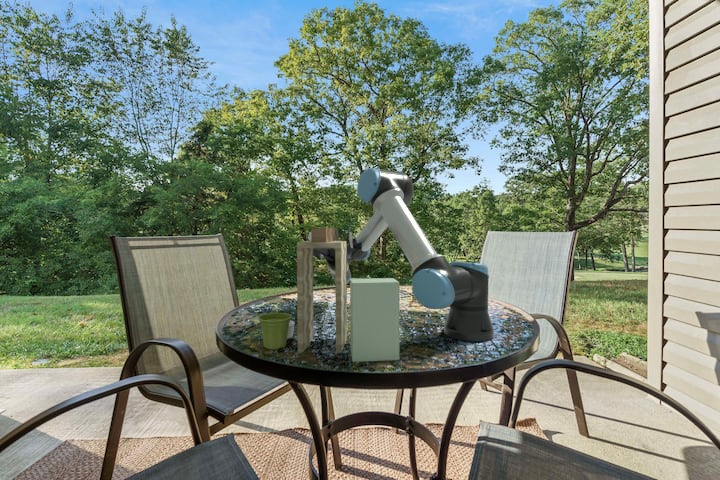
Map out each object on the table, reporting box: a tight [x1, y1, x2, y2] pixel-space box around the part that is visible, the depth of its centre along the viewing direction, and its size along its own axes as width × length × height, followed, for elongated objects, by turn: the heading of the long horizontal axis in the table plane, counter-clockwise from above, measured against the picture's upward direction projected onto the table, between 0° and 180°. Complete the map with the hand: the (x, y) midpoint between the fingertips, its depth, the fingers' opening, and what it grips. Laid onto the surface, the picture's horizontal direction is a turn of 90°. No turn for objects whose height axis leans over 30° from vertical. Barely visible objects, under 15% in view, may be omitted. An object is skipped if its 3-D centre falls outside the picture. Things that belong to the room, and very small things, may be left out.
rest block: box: [349, 277, 400, 363], centre depth 94 cm, size 12×8×20 cm, turn 96°
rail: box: [310, 227, 339, 242], centre depth 108 cm, size 24×4×4 cm, turn 176°
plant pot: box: [257, 312, 293, 350], centre depth 102 cm, size 9×9×9 cm
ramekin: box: [287, 319, 295, 340], centre depth 112 cm, size 9×9×4 cm
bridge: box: [296, 240, 348, 354], centre depth 103 cm, size 14×12×30 cm
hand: (329, 235), depth 117 cm, fingers open, 13 cm apart
